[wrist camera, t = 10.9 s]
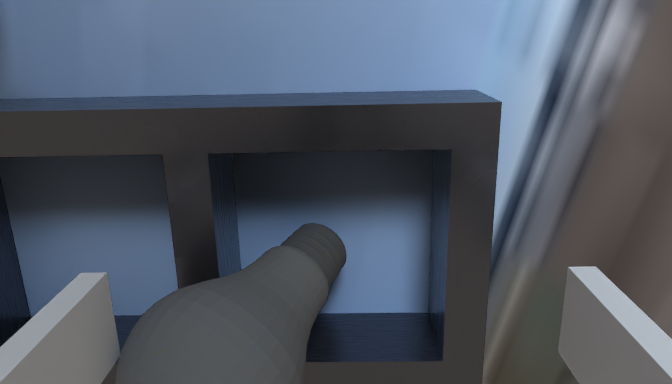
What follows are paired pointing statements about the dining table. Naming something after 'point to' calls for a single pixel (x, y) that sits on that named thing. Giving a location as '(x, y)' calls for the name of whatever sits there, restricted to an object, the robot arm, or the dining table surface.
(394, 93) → the rectangular frame
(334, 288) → the dining table surface
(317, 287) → the light bulb
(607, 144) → the dining table surface
